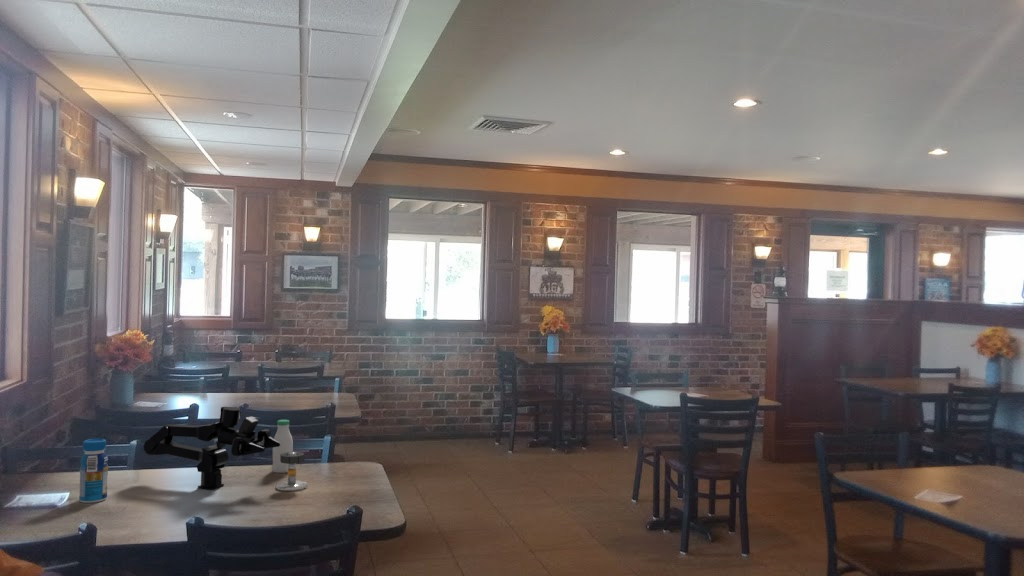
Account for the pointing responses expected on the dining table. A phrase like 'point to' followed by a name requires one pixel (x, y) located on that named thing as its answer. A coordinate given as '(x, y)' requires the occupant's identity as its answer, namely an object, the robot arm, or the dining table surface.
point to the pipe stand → (291, 479)
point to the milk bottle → (281, 446)
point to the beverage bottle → (93, 471)
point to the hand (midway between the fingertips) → (272, 447)
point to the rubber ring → (292, 458)
